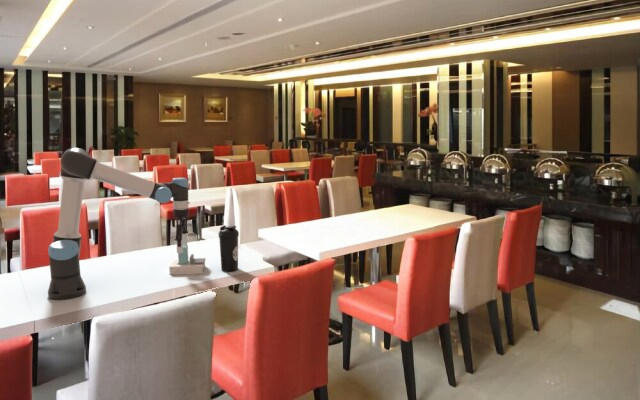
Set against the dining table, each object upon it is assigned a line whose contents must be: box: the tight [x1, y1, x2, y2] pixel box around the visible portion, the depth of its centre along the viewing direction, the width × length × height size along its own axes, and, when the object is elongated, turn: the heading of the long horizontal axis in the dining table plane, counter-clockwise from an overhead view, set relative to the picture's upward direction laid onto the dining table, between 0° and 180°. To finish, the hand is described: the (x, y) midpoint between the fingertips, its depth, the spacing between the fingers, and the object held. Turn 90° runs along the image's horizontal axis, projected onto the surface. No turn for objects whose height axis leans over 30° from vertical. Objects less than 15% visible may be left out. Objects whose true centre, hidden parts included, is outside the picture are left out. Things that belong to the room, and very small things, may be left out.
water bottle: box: [218, 225, 240, 273], centre depth 251 cm, size 10×10×23 cm
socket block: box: [168, 258, 206, 275], centre depth 251 cm, size 16×12×4 cm
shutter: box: [189, 253, 206, 264], centre depth 251 cm, size 7×7×3 cm
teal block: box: [177, 244, 189, 265], centre depth 250 cm, size 4×4×12 cm
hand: (182, 249), depth 249 cm, fingers open, 13 cm apart
